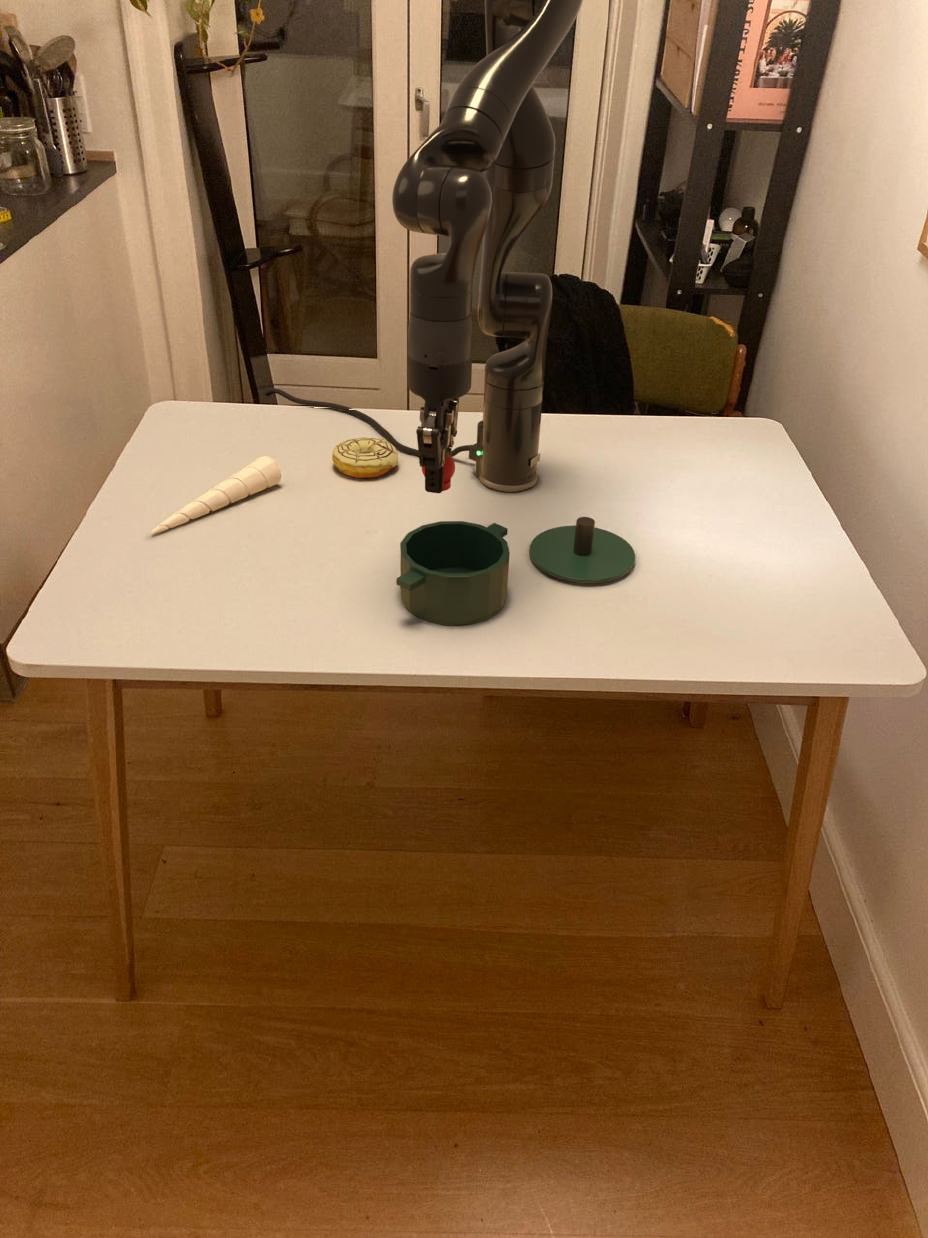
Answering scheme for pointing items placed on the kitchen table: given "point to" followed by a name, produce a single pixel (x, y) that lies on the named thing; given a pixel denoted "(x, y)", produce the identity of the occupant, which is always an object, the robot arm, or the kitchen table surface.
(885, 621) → the kitchen table surface
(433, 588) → the pan
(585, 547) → the lid
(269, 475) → the unicorn horn
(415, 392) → the robot arm
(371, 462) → the decorated donut
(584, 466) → the kitchen table surface
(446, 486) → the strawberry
